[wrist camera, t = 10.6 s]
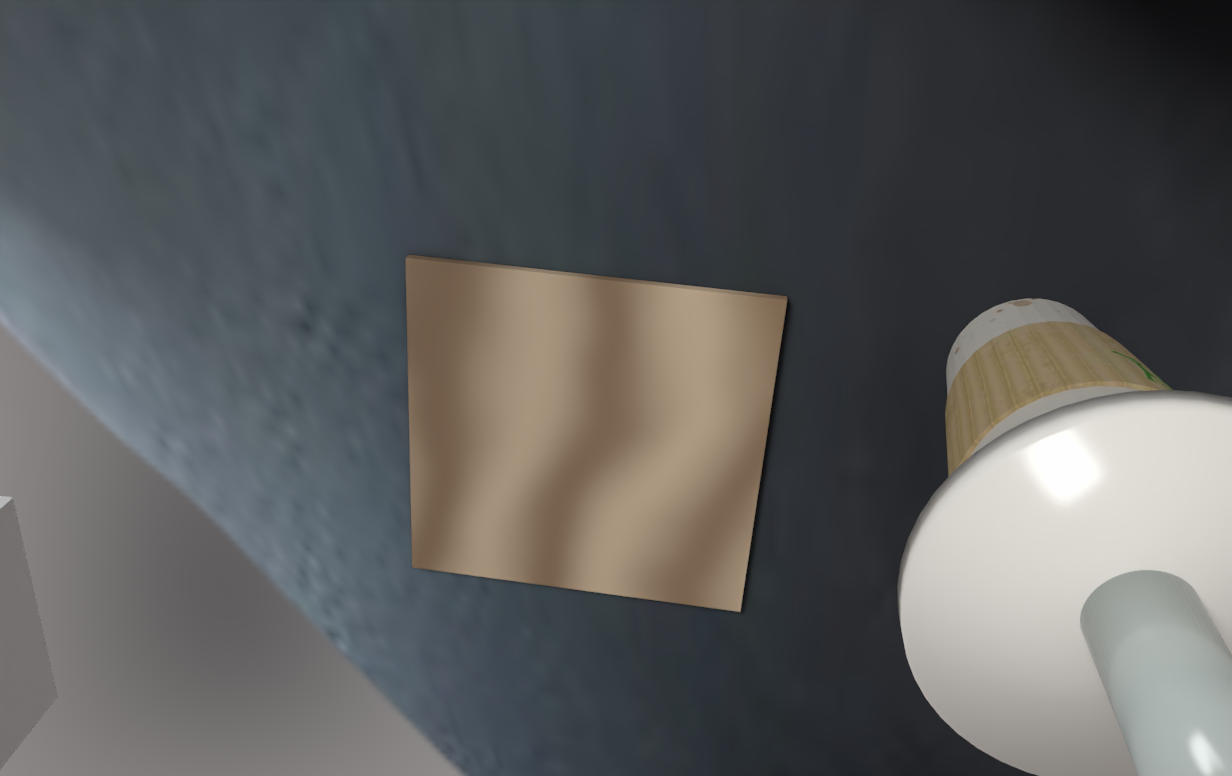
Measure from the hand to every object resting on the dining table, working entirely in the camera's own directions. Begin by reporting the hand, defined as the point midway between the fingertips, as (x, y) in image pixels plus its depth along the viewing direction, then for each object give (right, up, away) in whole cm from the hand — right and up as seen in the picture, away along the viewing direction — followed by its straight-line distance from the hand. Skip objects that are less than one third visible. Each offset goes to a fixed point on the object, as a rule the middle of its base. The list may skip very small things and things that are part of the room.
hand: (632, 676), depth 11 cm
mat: (-2, +1, +38) cm, 38 cm away
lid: (+15, -3, +20) cm, 25 cm away
